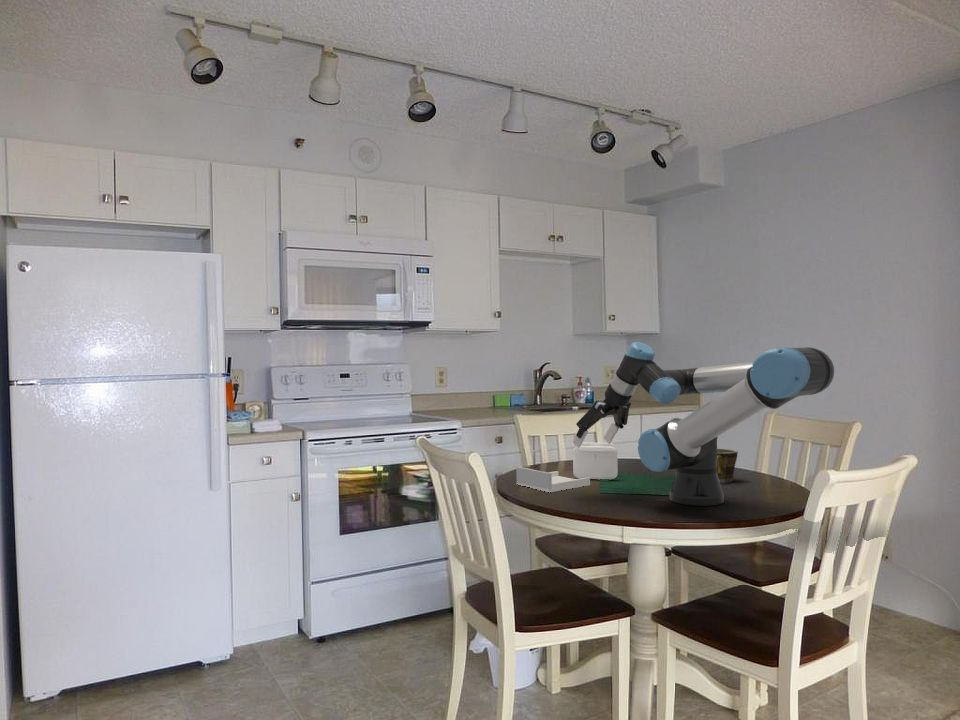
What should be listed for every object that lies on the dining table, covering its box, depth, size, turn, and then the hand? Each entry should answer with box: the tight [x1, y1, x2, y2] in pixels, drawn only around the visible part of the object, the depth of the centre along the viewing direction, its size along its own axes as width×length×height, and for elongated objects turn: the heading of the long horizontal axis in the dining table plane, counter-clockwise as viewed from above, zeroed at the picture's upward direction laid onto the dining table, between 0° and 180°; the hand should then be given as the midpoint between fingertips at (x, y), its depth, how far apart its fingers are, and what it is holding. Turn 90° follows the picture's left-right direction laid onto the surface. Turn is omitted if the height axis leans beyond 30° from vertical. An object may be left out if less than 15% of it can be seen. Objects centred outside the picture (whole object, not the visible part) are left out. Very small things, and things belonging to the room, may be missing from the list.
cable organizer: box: [572, 441, 619, 481], centre depth 239 cm, size 15×11×12 cm
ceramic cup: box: [717, 448, 738, 484], centre depth 229 cm, size 13×10×10 cm
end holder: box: [515, 466, 591, 493], centre depth 227 cm, size 16×18×6 cm
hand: (591, 442), depth 217 cm, fingers open, 13 cm apart
